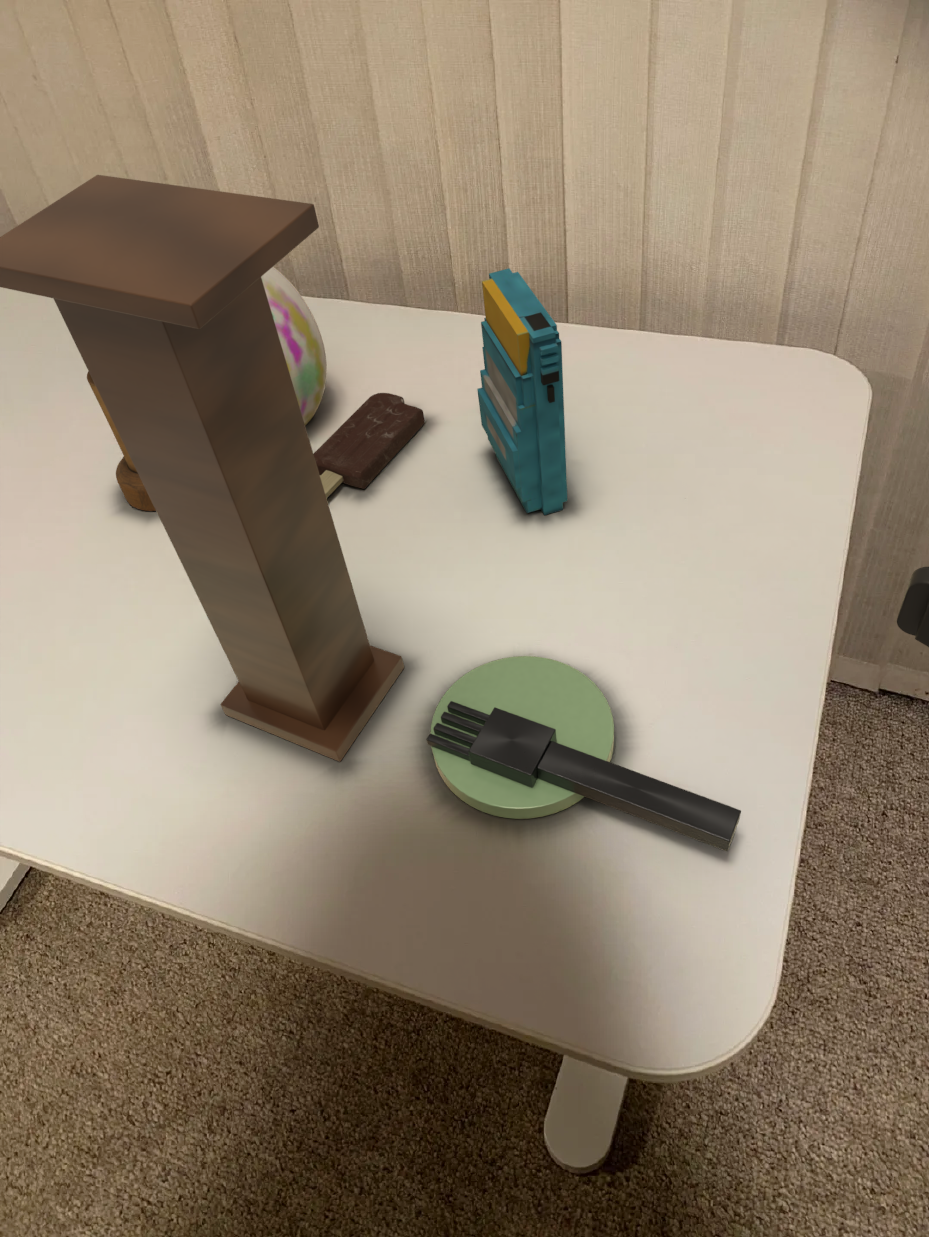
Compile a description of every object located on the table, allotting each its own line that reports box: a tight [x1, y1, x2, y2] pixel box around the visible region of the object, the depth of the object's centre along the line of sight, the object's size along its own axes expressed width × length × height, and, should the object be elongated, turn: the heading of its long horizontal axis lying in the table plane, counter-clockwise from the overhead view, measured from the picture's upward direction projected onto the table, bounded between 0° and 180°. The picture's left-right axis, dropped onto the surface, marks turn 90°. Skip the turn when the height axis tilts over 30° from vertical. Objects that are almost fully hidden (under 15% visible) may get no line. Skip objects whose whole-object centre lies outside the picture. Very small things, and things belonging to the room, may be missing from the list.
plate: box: [429, 655, 615, 820], centre depth 56 cm, size 11×11×1 cm
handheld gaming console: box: [476, 267, 568, 516], centre depth 66 cm, size 10×4×15 cm, turn 17°
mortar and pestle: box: [86, 370, 157, 512], centre depth 70 cm, size 7×6×18 cm
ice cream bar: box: [313, 392, 426, 499], centre depth 75 cm, size 5×2×15 cm
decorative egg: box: [261, 266, 328, 426], centre depth 76 cm, size 12×12×15 cm
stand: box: [0, 174, 405, 762], centre depth 49 cm, size 8×12×31 cm, turn 62°
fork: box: [426, 701, 742, 853], centre depth 52 cm, size 3×18×1 cm, turn 62°
